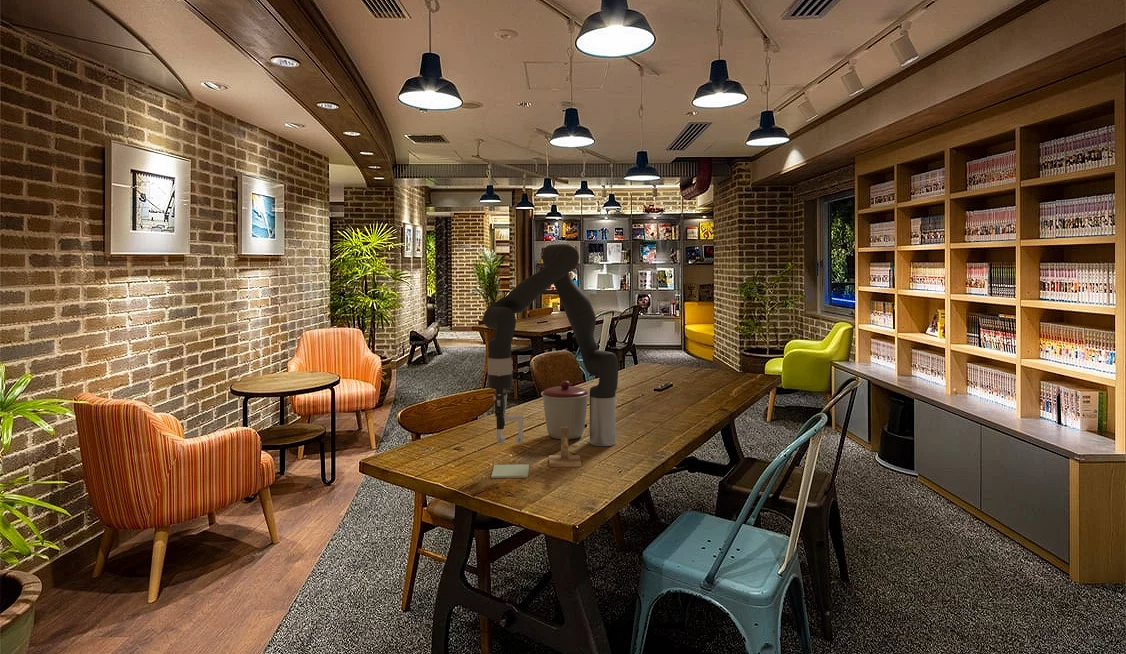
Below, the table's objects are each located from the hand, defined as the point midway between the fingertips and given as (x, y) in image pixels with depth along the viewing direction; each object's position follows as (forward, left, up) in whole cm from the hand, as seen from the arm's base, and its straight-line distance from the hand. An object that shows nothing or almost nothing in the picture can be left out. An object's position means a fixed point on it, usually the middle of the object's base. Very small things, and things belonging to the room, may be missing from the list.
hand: (500, 427), depth 196 cm
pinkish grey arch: (0, +3, -4) cm, 5 cm away
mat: (0, +3, -14) cm, 14 cm away
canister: (-41, +21, -14) cm, 48 cm away
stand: (-4, +20, -14) cm, 25 cm away
